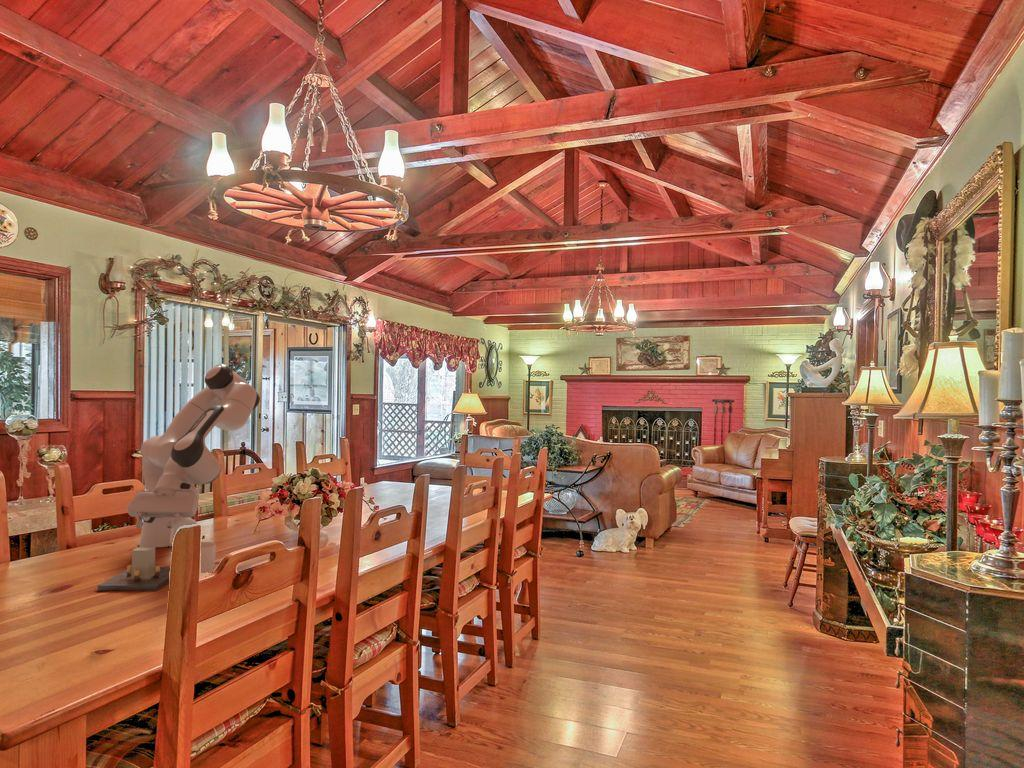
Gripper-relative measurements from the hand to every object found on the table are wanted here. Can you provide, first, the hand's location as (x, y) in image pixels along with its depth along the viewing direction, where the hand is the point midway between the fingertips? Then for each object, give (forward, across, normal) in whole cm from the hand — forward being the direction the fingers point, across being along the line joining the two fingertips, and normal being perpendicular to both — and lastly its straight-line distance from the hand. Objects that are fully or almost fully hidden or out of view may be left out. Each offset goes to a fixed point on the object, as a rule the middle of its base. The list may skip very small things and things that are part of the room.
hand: (154, 527), depth 195 cm
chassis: (+15, +1, +5) cm, 16 cm away
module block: (+14, +1, +3) cm, 15 cm away
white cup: (+13, +16, +7) cm, 22 cm away
